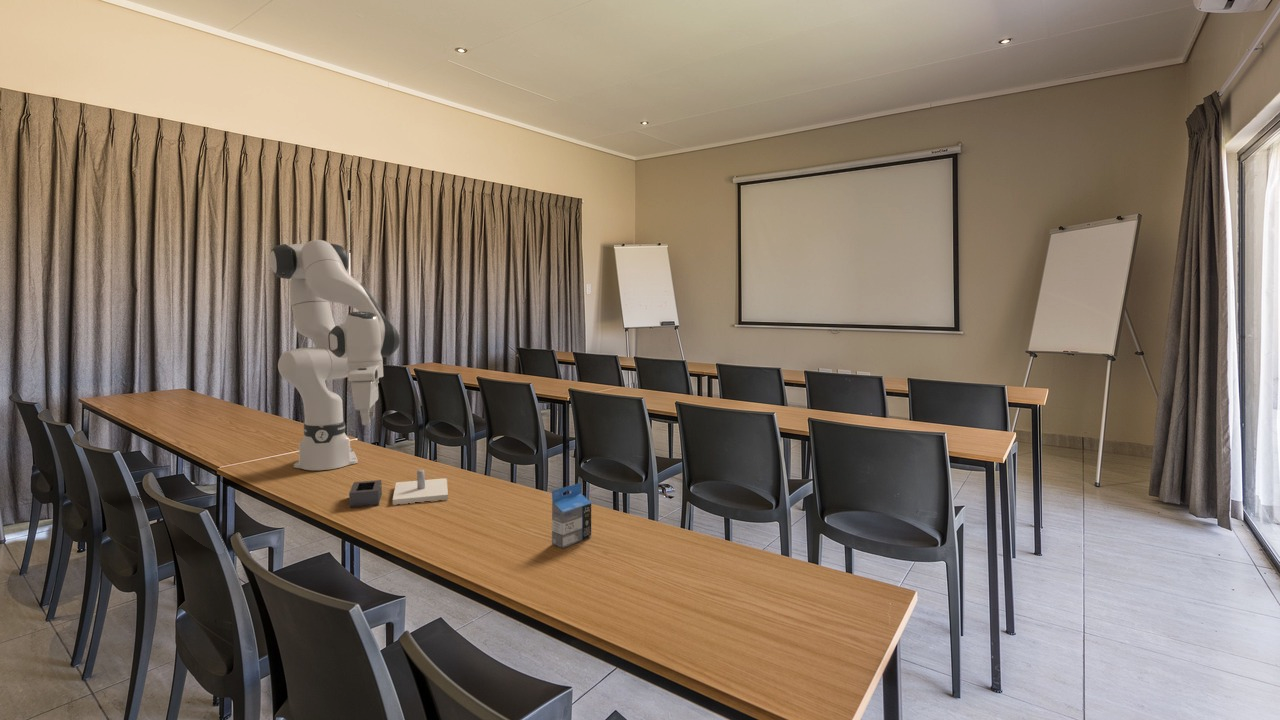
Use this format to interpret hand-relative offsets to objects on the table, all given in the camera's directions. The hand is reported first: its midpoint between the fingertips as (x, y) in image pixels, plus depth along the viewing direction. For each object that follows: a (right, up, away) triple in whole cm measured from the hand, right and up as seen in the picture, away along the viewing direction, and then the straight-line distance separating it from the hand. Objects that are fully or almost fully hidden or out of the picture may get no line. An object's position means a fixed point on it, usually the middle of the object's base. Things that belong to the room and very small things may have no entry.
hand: (368, 421), depth 166 cm
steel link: (0, -21, -2) cm, 21 cm away
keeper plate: (+13, -21, +4) cm, 25 cm away
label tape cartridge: (+59, -25, -28) cm, 70 cm away
